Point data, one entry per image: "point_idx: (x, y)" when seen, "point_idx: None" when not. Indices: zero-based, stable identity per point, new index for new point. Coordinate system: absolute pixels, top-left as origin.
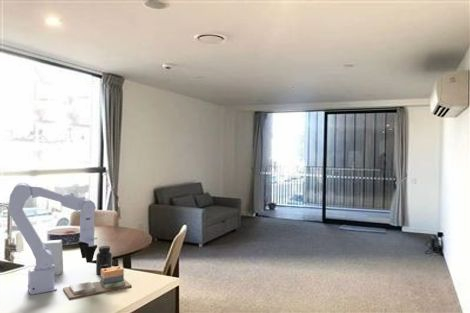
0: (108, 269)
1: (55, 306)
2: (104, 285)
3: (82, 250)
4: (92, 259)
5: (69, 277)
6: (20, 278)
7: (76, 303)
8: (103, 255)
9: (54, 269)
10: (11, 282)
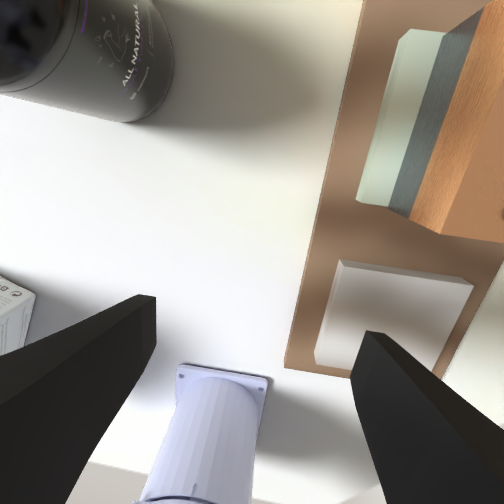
0: None
1: None
2: None
3: (88, 438)
4: (406, 354)
5: (107, 275)
6: None
7: (498, 381)
8: (39, 3)
9: (4, 333)
10: None
